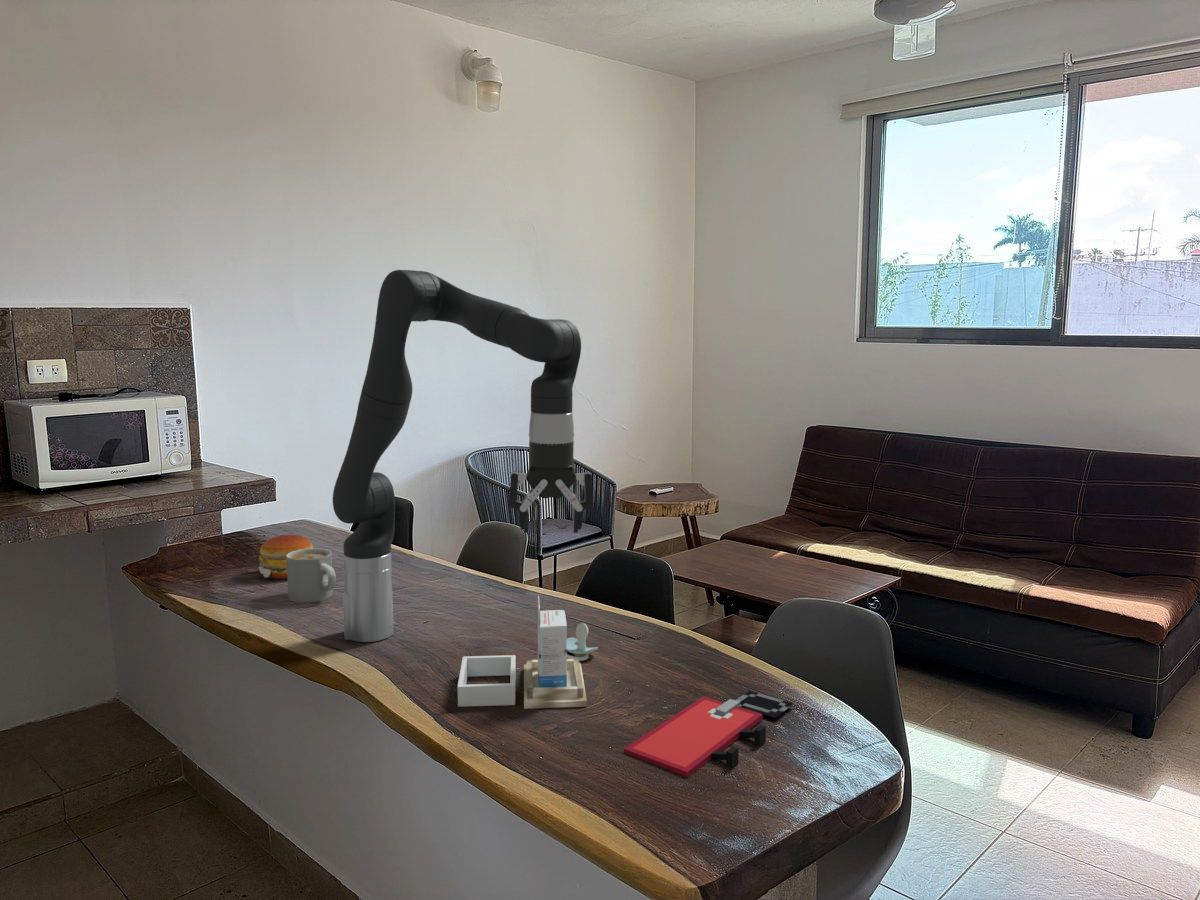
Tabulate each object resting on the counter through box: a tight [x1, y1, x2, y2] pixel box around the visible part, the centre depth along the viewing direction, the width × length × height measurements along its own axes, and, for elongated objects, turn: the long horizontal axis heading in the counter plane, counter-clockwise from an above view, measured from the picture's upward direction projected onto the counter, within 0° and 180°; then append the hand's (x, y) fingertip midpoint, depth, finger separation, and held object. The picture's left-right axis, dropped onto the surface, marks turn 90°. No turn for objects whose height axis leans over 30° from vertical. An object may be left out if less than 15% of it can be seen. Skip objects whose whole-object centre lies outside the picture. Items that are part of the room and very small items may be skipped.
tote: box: [457, 654, 517, 708], centre depth 150 cm, size 10×13×4 cm
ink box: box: [537, 595, 568, 688], centre depth 150 cm, size 9×5×15 cm, turn 5°
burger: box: [258, 533, 314, 579], centre depth 216 cm, size 13×14×10 cm
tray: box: [523, 659, 588, 710], centre depth 151 cm, size 10×16×2 cm, turn 5°
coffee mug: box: [286, 547, 337, 603], centre depth 198 cm, size 13×10×10 cm
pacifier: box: [567, 622, 598, 662], centre depth 166 cm, size 7×6×6 cm
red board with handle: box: [623, 690, 794, 778], centre depth 136 cm, size 30×3×15 cm
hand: (550, 531), depth 148 cm, fingers open, 8 cm apart
